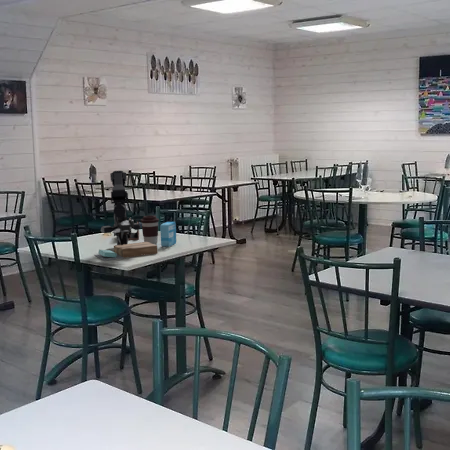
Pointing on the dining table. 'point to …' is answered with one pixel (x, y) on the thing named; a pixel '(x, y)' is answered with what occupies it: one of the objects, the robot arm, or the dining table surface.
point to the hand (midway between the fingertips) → (121, 245)
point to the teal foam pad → (107, 253)
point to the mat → (108, 257)
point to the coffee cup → (150, 229)
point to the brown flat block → (135, 249)
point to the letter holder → (133, 235)
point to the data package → (168, 234)
